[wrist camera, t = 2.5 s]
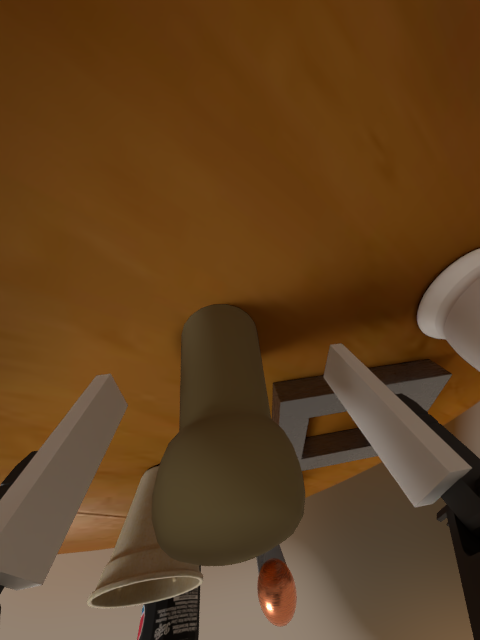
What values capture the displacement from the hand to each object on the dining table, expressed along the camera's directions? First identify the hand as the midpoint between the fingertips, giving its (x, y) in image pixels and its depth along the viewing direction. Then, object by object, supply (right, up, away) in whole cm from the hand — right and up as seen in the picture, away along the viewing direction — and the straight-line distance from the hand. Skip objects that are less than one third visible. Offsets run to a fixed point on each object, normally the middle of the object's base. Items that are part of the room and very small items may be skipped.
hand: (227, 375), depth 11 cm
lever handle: (+3, -20, +9) cm, 22 cm away
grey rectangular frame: (+13, -8, +11) cm, 19 cm away
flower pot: (-8, -17, +12) cm, 22 cm away
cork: (-1, +2, +4) cm, 4 cm away
